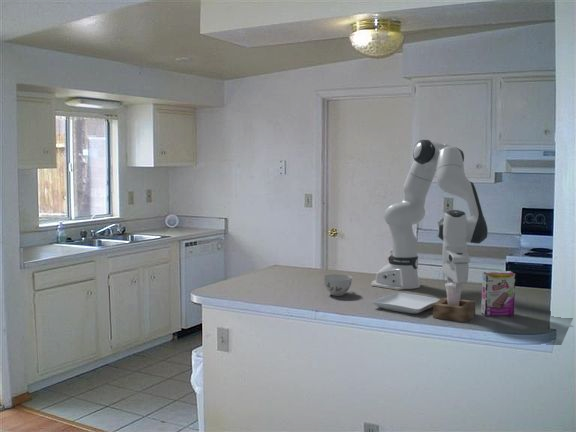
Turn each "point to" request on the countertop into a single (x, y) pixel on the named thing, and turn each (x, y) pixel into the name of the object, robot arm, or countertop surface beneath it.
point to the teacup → (337, 283)
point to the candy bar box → (498, 293)
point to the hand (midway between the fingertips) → (453, 290)
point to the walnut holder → (454, 310)
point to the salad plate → (405, 303)
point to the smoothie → (452, 294)
